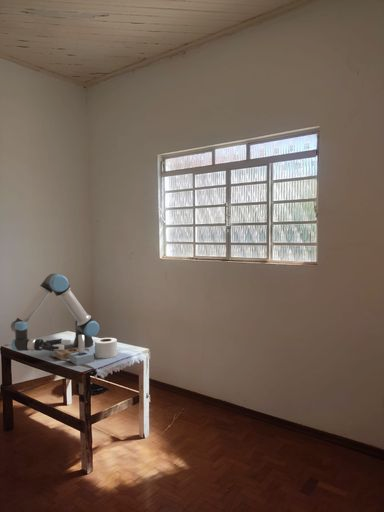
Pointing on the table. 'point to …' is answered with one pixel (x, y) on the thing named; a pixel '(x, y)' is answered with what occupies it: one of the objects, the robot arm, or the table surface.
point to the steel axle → (81, 344)
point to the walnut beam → (67, 353)
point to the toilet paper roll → (105, 347)
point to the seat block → (81, 358)
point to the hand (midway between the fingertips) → (67, 344)
